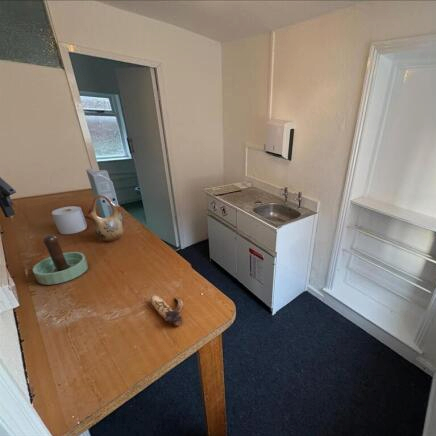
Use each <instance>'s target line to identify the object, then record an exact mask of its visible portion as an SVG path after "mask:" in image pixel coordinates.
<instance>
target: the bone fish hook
mask: <svg viewBox="0 0 436 436" xmlns="http://www.w3.org/2000/svg"><path fill="white" fill-rule="evenodd" d="M174 300H175V301H176V302H177V306H176V307H175V308H174V309H173V308H171V306H170V305H168V303H166V302H165V301H164V299H162V298H161V297H159V295H157V294H154V295H152V296H151V297H150V303H151V305H152V306H153V307H154V309H155V310H156V311H157V313H158V314H159V315H160V316H161V317H162V318H163V319H164V322H167V323H169V324H171V325H172V324H173V325H174V326H175V327H179V326H181V325H182V322H183V320H182V317H183V316H182V315H180V313H181V312H182V311H183V308H184V302H183V300H182V299H180V298H179V297H174Z"/></svg>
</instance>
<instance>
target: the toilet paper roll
mask: <svg viewBox="0 0 436 436" xmlns="http://www.w3.org/2000/svg"><path fill="white" fill-rule="evenodd" d="M84 215H85V214H84V213H83V210H82V208H81V207H80V206H64V207H59V208H57V209H54V210H53V211H52V212H51V216H52V218H53V220H54V224H55V226H56V228H57V230H58V232H59V234H61V235H73V234H77V233H81V232H83V231H85V230H86V229H88V225H87V221H86V217H84Z"/></svg>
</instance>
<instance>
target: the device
mask: <svg viewBox="0 0 436 436" xmlns="http://www.w3.org/2000/svg"><path fill="white" fill-rule="evenodd" d="M85 171H86V175H87V177H88V180H89V184H90V187H91V190H92V194H93V197H94V198H95V197H97V196H99V195H103V196H106V197H108V198H109V200H110V201H111V202H112V203H113V204H114V205H116V206H119V207H120V205H119V202H118V199H117V194H116V190H115V186H114V184H113V183H114V181H112V180H111V178H110V176H109V172H108V170H106V169H99V170H96V169H93V168H88V169H85ZM94 198H93V199H94ZM96 207H97V210H98V213H99V217H100V218H107V217H109V216H111V215H112V213H113V210H112V207H111V205H110V204H109V202H108V201H107V200H106V199H105V198H98V199H97V200H96ZM119 219H120V221H121V222H122V223H123V217H122V213H121V212H120V214H119Z"/></svg>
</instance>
